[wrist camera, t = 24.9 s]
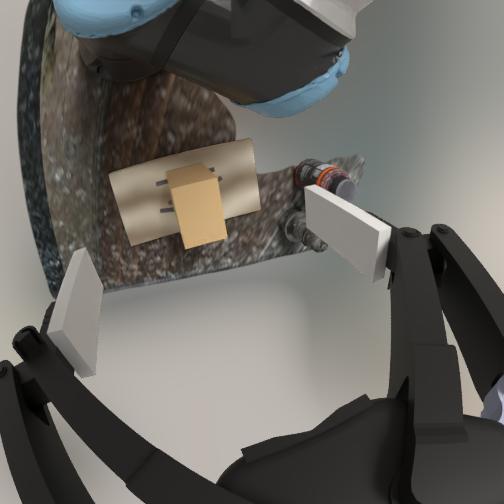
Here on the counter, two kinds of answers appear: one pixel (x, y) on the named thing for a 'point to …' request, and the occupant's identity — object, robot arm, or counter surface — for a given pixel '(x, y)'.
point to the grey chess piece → (299, 229)
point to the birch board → (158, 193)
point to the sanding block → (197, 204)
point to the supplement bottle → (325, 178)
